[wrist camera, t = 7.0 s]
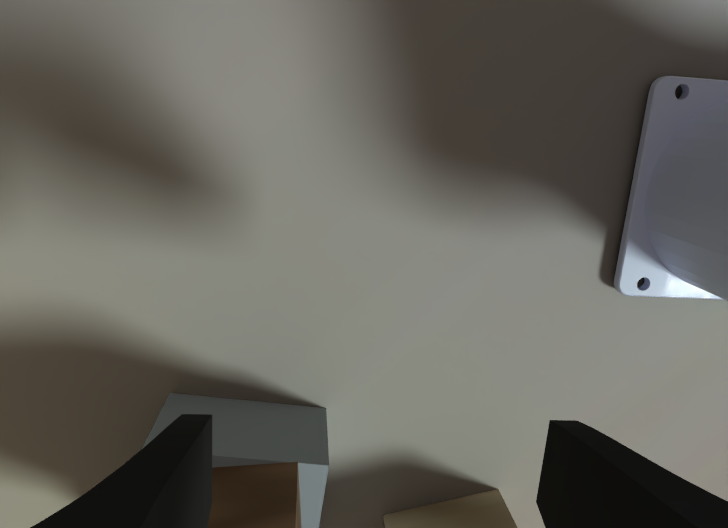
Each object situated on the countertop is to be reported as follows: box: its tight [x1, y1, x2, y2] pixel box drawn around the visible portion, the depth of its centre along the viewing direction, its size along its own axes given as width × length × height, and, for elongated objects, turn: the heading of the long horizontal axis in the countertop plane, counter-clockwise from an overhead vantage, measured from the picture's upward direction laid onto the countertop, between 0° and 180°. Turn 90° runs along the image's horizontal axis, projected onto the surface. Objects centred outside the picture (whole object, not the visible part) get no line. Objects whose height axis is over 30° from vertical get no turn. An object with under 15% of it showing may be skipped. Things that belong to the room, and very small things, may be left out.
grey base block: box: [141, 393, 329, 528], centre depth 21 cm, size 6×6×4 cm
